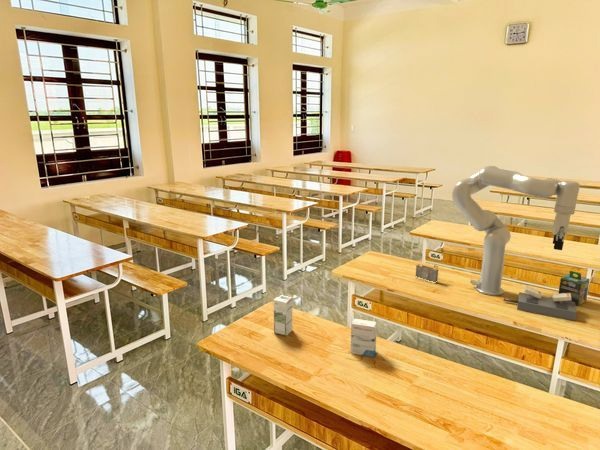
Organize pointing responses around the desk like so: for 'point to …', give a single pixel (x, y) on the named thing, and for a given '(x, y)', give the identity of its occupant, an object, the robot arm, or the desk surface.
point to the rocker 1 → (533, 292)
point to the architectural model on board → (427, 272)
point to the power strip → (546, 306)
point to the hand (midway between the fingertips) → (557, 246)
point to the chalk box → (575, 287)
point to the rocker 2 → (562, 297)
